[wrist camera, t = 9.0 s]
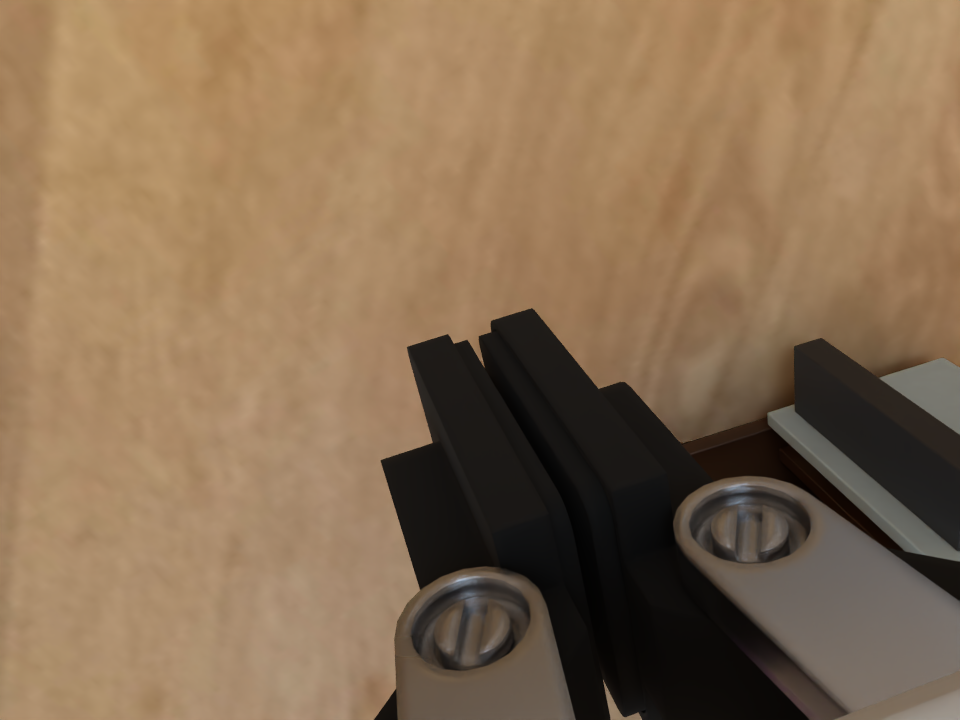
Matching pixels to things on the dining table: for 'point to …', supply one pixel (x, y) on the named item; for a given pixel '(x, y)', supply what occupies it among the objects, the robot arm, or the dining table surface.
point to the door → (882, 442)
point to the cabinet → (776, 469)
